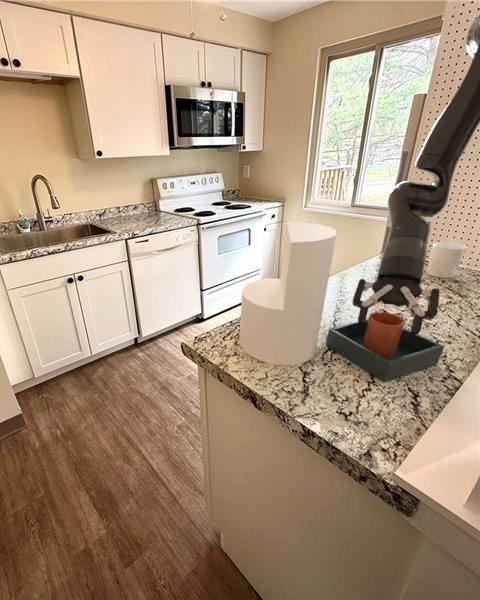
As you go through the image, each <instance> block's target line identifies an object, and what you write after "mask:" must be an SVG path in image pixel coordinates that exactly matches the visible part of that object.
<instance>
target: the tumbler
mask: <svg viewBox="0 0 480 600" xmlns="http://www.w3.org/2000/svg"><path fill="white" fill-rule="evenodd" d="M368 316H369V317H368V318H369V320H368V324H367V328H366V331H365V335H364V339H363V343H362V346H363V347H365V348H367V349H368V350H370V351H372V352H374V353H375V354H377V355H379V356H381V357H382V358H384V359H386V360H390V359H392V358H394V356H395V354H396V351H397V348H398V344H399V341H400V338H401V335H402V332H403V329H404V328H405V325H406V320H405V319H404V318H403V317H401V316H399V315H397V314H394V313H390V312H383V311H376V312H372V313H371V314H369V315H368Z"/></svg>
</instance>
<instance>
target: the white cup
mask: <svg viewBox="0 0 480 600" xmlns="http://www.w3.org/2000/svg"><path fill="white" fill-rule="evenodd" d="M467 248H468V246H467V245H466V244H463V243H459V242H453V241H438V242H433V244H432V248H431V252H430V256H429V260H428V266H427V269H426V274H427V275H429V276H431V277H434V278H441V279H451V278H454V276H455V273H456V271H457V270H458V268H459V266H460V264H461V262H462V260H463V258H464V255H465V253H466V251H467Z"/></svg>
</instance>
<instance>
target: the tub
mask: <svg viewBox="0 0 480 600" xmlns="http://www.w3.org/2000/svg"><path fill="white" fill-rule="evenodd" d="M368 320H369V317H368V318H367V317H366V320H365V325H364V326H361V323H359V322H358V320H357V321H352V322H350V323H346V324H342V325H337V326H334V327H331V328H329V329H328V332H327V337H326V343H325V346H326V347H327V348H329V349H331V350H332V351H333V352H335V353H336V354H338V355H340V356H342V357H343V358H345V359H346V360H348V361H349V362H350V363H353V364H354V365H356V366H357V367H359V368H360V369H362V370H364V371H365V372H367V373H368V374H370V375H372V376H373V377H374V378H376V379H378V380H379V381H381V382H382V383H387V382H390V381H393V380H396V379H399V378H402V377H405V376H408V375H410V374H413V373H416V372H420V371H422V370H425V369H429V368H431V367H434V366H437V365H439V361H440V359H441V357H442V353H443V351H444V348H445V345H442V344H441V343H438V342H436V341H434V340H432V339H429V338H427V337H425V336H423V335H421V334H419V333H418V334H415V335H414V336H410V330H411V329H410V330H409V329H407V328H405V327H404V329H403V332H402V335H401V338H400V341H399V344H398V348H397V351H396V354H395V356H394V358H392V359H390V360H386V359H384V358H382V357H381V356H379V355H377V354H375V353H374V352H372V351H370V350H368V349H367V348H365V347H363V346H362V343H363V339H364V335H365V331H366V328H367V324H368Z"/></svg>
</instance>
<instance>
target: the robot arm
mask: <svg viewBox="0 0 480 600" xmlns="http://www.w3.org/2000/svg"><path fill="white" fill-rule="evenodd" d="M465 45H466V50H467V52H468V54H469V55H470V56H471V57H472V60H471V63H470V65H469V67H468V69H467V72H466V73H465V76H464V77H463V80H462V82H461V84H460V85H459V87H458V88H457V90H456V92H455V93H454V95H453V96H452V98H451V99H450V101H449V102H448V104H447V106H446V107H445V108H444V110H443V111H442V113H441V114H440V116H439V117H438V118H437V120H436V122H435V123H434V125H433V127H432V128H431V131H430V132H429V134H428V136H427V138H426V140H425V142H424V144H423V147H422V148H421V150H420V153H419V154H418V157H417V158H416V161H415V164H414V167H415V168H416V169H417V170H418V171H421V172H424V173H427V174H430V175H431V176H432V178H433V179H432V180H433V182H432V184H430V183H424V182H418V181H402V182H400V183H398V184H396V186H394V187H393V188H392V190H391V191H390V193H389V196H388V198H387V211H388V216H389V225H390V228H389V234H388V237H387V241H386V245H385V247H384V249H383V252H382V256H381V258H380V263H379V264H380V265H379V269H378V272H377V276H376V280H375V281H374V282H371V281H366V279H364V278H360V279H359V281H358V283H357V286H356V288H355V291H354V296H353V298H352V304H351V305H352V306H353V307H357V308H359V313H358V317H357V321H358V322H359V323H361V326H364V325H365V320H366V319H367V315H368V312H369V309H370V308H372V307H373V306H376V305H377V304H379V303H383V305H393V306H395V307H402V306H405V308H406V309H407V310H408V312H410V314H411V315H412V316H413V318H412V322H411V326H410V336H414V335H415V334H418V335H419V333H420V332H421V331H422V326H423V322H424V320H434V319H435V317H436V316H437V315H438V310H439V301H440V292H441V290H440V289H439V288H436V287H435V288H432V289H425V288H424V289H423V288H422V286H421V283H422V282H421V281H422V277H423V273H424V268H425V264H426V259H427V253H428V244H429V243H428V242H429V238H430V234H431V228H432V225H431V222H430V221H429V220H428V219H427V218H432V217H435V216H436V215H438V214H439V213H441V212H443V210H444V208H445V207H446V206H447V204H448V201H449V196H450V191H451V187H452V181H453V178H454V175H455V171H456V169H457V167H458V163H459V162H460V159H461V158H462V156H463V154H464V153H465V151H466V148H467V147H468V145H469V143H470V141H471V140H472V138H473V136H474V134H475V133H476V131H477V129H478V127H479V125H480V14H478V16H477V17H476V18H475V19H474V20H473V21H472V23H471V25H470V27H469V29H468V31H467V34H466V39H465ZM369 289H372V291H373V292H374V293H373V294H372V295H371V296H369V298H367V299H365V300H364V301H363V300H361V299H362V297H363V293H364V292H367V291H368V290H369ZM420 296H423V299H424V300H425V301H427V309H426V310H423V308H422V307H421V306H420V303H419V302H418V300H417V298H419V297H420Z"/></svg>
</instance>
